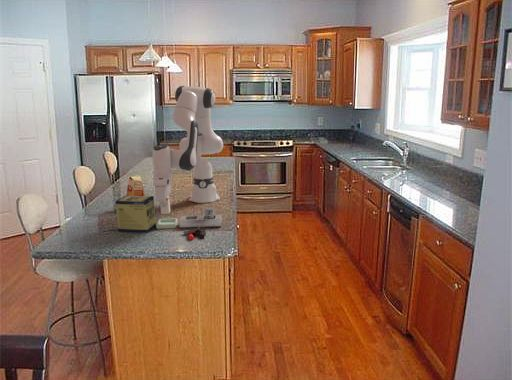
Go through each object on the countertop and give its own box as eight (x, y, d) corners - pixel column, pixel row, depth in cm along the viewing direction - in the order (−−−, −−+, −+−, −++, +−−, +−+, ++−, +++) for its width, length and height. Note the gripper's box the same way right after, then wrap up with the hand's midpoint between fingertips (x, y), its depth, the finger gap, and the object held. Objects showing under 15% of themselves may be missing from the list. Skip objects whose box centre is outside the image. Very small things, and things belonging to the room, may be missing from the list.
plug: (162, 211, 221) (161, 195, 219) (170, 211, 221) (169, 195, 219) (160, 213, 217) (159, 198, 215) (169, 213, 217) (168, 197, 215)
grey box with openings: (181, 223, 222) (180, 207, 220) (221, 222, 222) (220, 205, 220) (178, 232, 208) (177, 214, 206) (220, 230, 209) (219, 213, 207)
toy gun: (183, 233, 207) (183, 224, 206) (208, 234, 205) (207, 224, 204) (176, 240, 198) (176, 230, 196) (202, 241, 196) (201, 231, 195)
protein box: (148, 232, 209) (145, 201, 205) (117, 231, 211) (114, 200, 208) (156, 226, 219) (154, 195, 215) (127, 225, 221) (124, 195, 218)
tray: (160, 222, 224) (159, 218, 224) (177, 221, 224) (177, 218, 224) (156, 228, 214) (156, 224, 214) (175, 228, 215) (174, 224, 214)
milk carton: (134, 210, 247) (131, 176, 243) (125, 208, 253) (122, 174, 249) (148, 207, 254) (145, 173, 249) (139, 204, 260) (136, 171, 255)
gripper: (160, 173, 224) (162, 199, 228) (152, 183, 204) (154, 211, 208) (172, 173, 224) (174, 199, 228) (166, 183, 205) (168, 211, 208)
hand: (165, 205), depth 218 cm, fingers closed on plug, 4 cm apart
